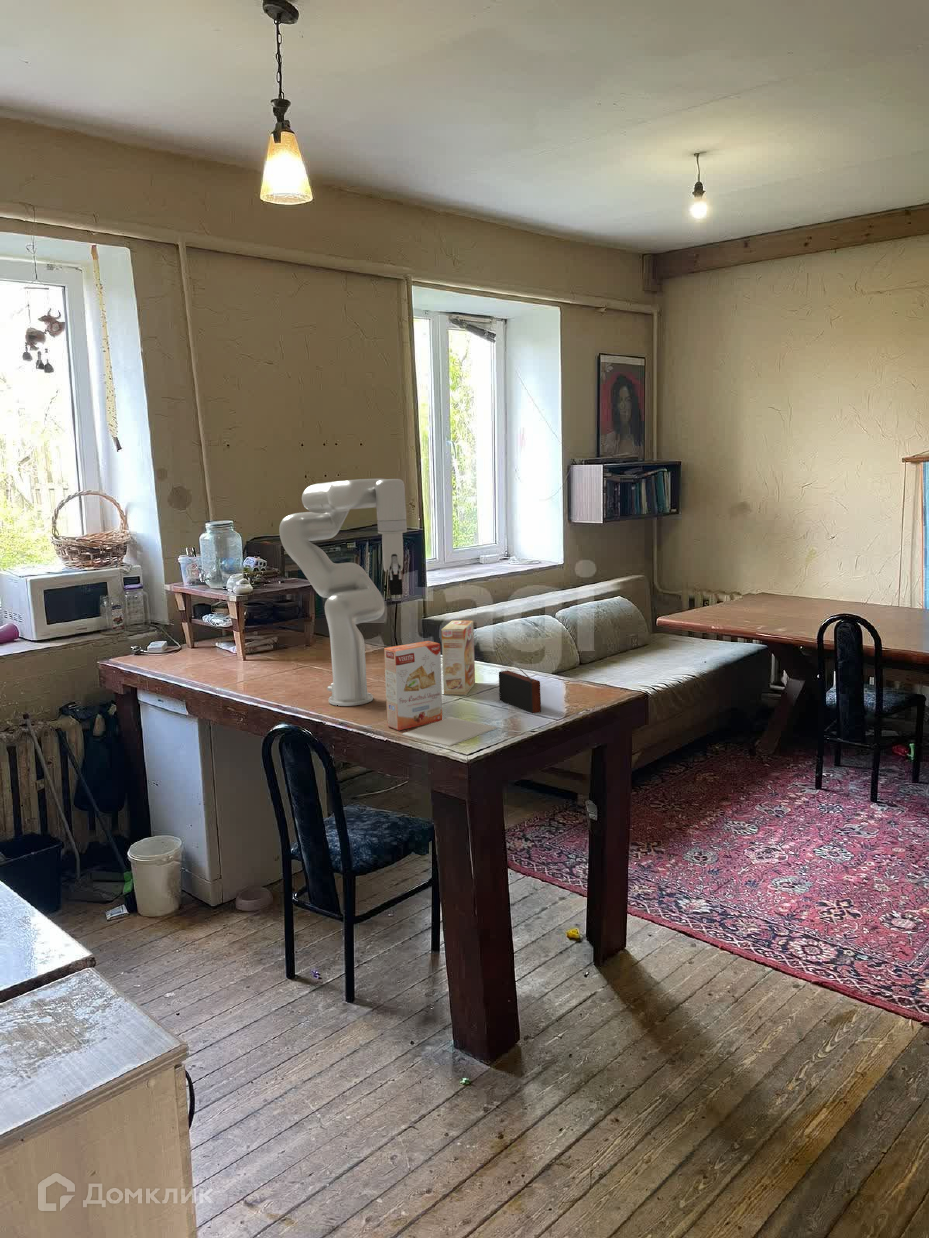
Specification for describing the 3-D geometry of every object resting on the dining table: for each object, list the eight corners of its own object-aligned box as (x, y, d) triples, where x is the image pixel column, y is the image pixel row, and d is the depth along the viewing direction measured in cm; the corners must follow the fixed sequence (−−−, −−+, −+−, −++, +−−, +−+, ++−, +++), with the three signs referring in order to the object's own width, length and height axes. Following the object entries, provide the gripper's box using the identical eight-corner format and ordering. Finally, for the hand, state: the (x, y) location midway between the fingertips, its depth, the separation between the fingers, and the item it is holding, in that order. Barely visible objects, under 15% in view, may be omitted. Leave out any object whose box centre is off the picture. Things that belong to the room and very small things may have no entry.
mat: (401, 734, 228) (401, 733, 228) (450, 718, 241) (450, 717, 241) (449, 746, 217) (449, 745, 217) (497, 728, 230) (497, 726, 230)
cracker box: (399, 731, 230) (395, 650, 227) (386, 727, 235) (382, 647, 232) (444, 720, 239) (441, 642, 235) (431, 716, 243) (427, 639, 240)
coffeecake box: (466, 695, 264) (464, 629, 260) (442, 695, 265) (439, 629, 262) (476, 682, 278) (474, 619, 275) (453, 682, 280) (451, 619, 276)
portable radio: (542, 712, 244) (540, 657, 241) (532, 714, 242) (531, 658, 240) (505, 697, 260) (503, 646, 257) (495, 699, 258) (494, 647, 256)
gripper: (377, 525, 245) (380, 589, 248) (378, 530, 228) (382, 597, 231) (405, 524, 246) (408, 587, 249) (408, 528, 229) (411, 596, 232)
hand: (395, 592), depth 240 cm, fingers open, 9 cm apart
